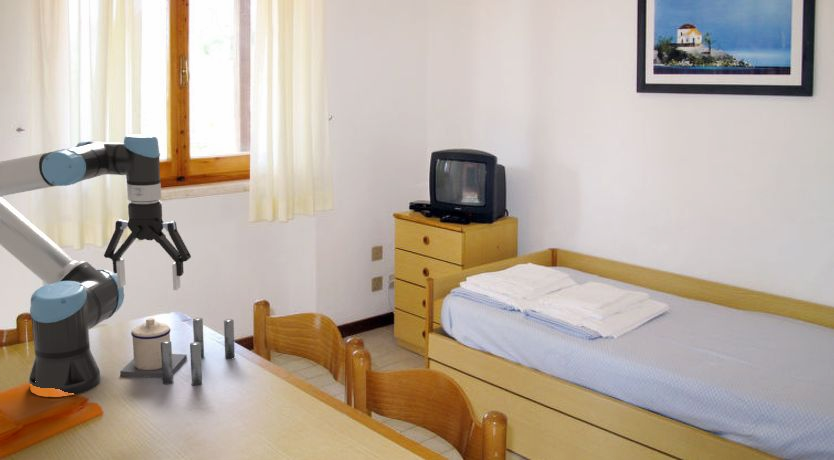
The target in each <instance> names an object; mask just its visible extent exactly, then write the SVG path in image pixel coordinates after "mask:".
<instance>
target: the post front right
mask: <svg viewBox="0 0 834 460" xmlns="http://www.w3.org/2000/svg"><path fill="white" fill-rule="evenodd" d="M189 352H190V353H189V354H190V373H191V376H190V377H191V386H194V387H198V386H201V385H202V384H203V369H202V358H201V343H200V342H194V341H193V342H190V343H189Z"/></svg>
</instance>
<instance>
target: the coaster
mask: <svg viewBox="0 0 834 460" xmlns="http://www.w3.org/2000/svg"><path fill="white" fill-rule="evenodd" d="M187 356H188V355H187V354H182V353H181V354H180V353H172V366H173V375H174V374H175V373H176V372H177V371H178V369H180V368H181V366H182V365H183V363H185V362H186V360H187V359H188V357H187ZM119 375H120V377H134V378H135V377H136V378H155V379H162V368H161V369H157V370H141V369H138V368H136V367H135V365H134V358H133V359H131V360H130V361H129V362H128V363H127V364H126V365H125V366H124V367H123V368H122V369H121V370H120V371H119Z"/></svg>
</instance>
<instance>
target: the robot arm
mask: <svg viewBox="0 0 834 460" xmlns="http://www.w3.org/2000/svg"><path fill="white" fill-rule="evenodd" d="M159 147H160V146H159V141H158V137H156V136H155V135H153V134H145V133H143V134H142V133H141V134H138V133H136V134H128V135H126V136H124V138H123V142H108V141H107V142H106V141H97V140H91V141H81V142H80V141H79V142H78V143H77V144H76V146H75V147H70V148H63V149H58V150H55V151H54V150H53V151H50V152H43V153H40V154H39V153H38V154H34V155H29V156H23V157H19V158H13V159H6V160H1V161H0V246H1V247H3V248H4V249H5V250H6V251H7V252H8V253H10V254H11V256H13V257H14V258H15V259H16V260H18V261H19V262H20V263H21V264H22V265H24V267H26V268H27V269H28V270H29V271H31V272H32V273H33V274H34V275H35V276H37V277H38V278H39V279H40V280H41V281H42V282H43V283H45V285H43V286H41V287H39V288H37V289H36V290H35V291H34V292H33V293H32V295H31V297H30V308H29V314H30V316H31V327H32V337H33V346H34V347H33V349H34V360H33V364H32V367H31V371H30V375H29V378H28V384H29V383H30V384H32V385H33V386H36V387H40V388H55V389H60V390H62V391H64V392H68V393H74V394H76V395H79V394H83V393H85V392H88V391H90V390H92V389H94V388H95V387H96V386H98V384H99V383H100V382H101V375H100V374H101V371H100V368H99V366H98V363H97V361H96V360H95V358H94V354H92V351H91V347H90V346H91V345H90V331H89V330H91V329H93V328H94V327H96V326H97V325H99V324H100V323H102V322H104V321H105V320H108V319H109V318H111V317H112V316H114V314H116V313H117V312H118V311H119V310H120V308H121V307H122V305H123V303H124V300H125V299H124V298H125V292H124V291H125V290H124V286H125V285H126V284H127V283H126V282H127V281H126V269H125V258H122V256H123V255H124V254H125V253H126V251H127V250H128V249H129V248H130V246H131V245H132V244H133V243H134V241H135V240H136V239H137V240H139V241H144V240H146V241H153V240H154V241H155V243H157V244H159V245H160V246H161V247H162V249H163V250H164V251H165V252H166V253H167V254H168V256H169V257H170V258H171V259H172V260H173V261H174V262H173V263H171V264H172V265H171V267H172V268H171V270H172V289H173V291H178V290H179V288H181V276H183V275H184V273H185V272H184V262H187V261H189V259H191V258H192V256H191V254H190V253H191V252H190V251H189V249H188V247H187V246H186V244H185V242H184V240H183V239H182V237H181V235H180V232H179V231H178V229H177V222H176V221H175V220H172V221H170V222H168V221H167V222H164V221H163V207H162V205H163V204H162V203H163V202H162V201H161V200H162V186H161V170H160V169H161V168H160V166H161V165H160V164H161V163H160V156H161V153H160V148H159ZM104 175H112V176H113V175H115V176H116V175H118V176H125V178H126V192H127V200H128V201H129V202H128V203H127V208H128V209H127V212H128V220H125V219H124V218H120V219H119V220H117V221H115V227H114V232H113V234H112V236H111V238H110V241H109V243H108V245H107V247H106V249H105V252H104V254H103V256H104V258H105V259H110V260H111V261H112V268H113V269H112V270H113V272H112V271H110V270H108V269H96V268H95V267H94V266H92V264H90V263H89V262H87V261H86V260H76V259H74V258H73V257H72V256H71V255H70V254H69V253H67V251H65V250H64V249H63V248H62V247H61V246H60V245H59V244H57V243H56V242H54V241H53V240H52V239H51V238H50V237H49V236H48V235H47V234H45V232H43V231H42V230H40V228H38V227H37V226H36V225H34V224H33V223H32V222H31V221H30V220H29V219H28V218H27V217H25V216H24V215H23V214H22V213H21V212H19V210H17V209H16V208H15V207H14V206H12V204H10V203H9V202H8V201H7V200H5V198H4V196H10V195H15V194H19V193H25V192H31V191H36V190H40V189H41V190H42V189H47V188H52V187H59V186H60V187H65V186H71V185H75V184H77V183H79V182H82V181H86V180H90V179H92V178H96V177H101V176H104ZM127 228H128V229H129V230H130V234H129V235H128V236H127V238H126V239H125V240H124V241H123V243H122V244H121V245H120V246H119V248H118V249H117V247H118V244H119V242H120V240H121V238H122V236H123V233H124V231H125V230H126V229H127ZM164 229H165V231H166V232H168V234H169V235H168V236H169V237H170V239H171V241H172V242H173V244H174V245H173V244H172V243H171V241H170V240H169V239H168V238H167V237H166V234H165V233H164V232H163V230H164ZM116 249H117V250H116ZM35 381H36V382H35Z"/></svg>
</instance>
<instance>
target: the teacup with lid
mask: <svg viewBox="0 0 834 460" xmlns="http://www.w3.org/2000/svg"><path fill="white" fill-rule="evenodd" d="M130 334H131V337H132V350H133V359H134V365H135V367H136V368H138V369H141V370H157V369H161V368H162V361H161V342H162V341H171V327H170V326H169V325H168V324H166V323H164V322H158V321H155V318H154V317H148V318H146V319H145V322H143V323H141V324H138V325H136V326H135V327H133V328H132V329H131V333H130Z"/></svg>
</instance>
